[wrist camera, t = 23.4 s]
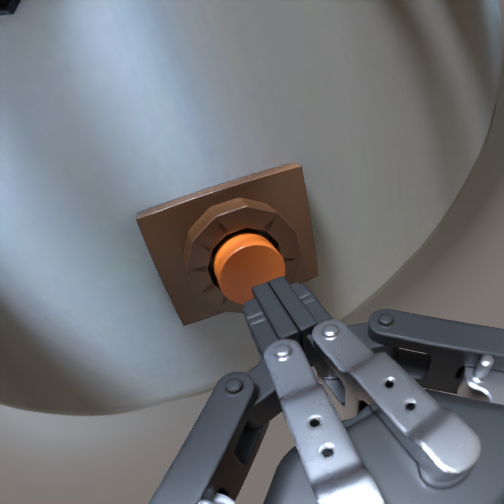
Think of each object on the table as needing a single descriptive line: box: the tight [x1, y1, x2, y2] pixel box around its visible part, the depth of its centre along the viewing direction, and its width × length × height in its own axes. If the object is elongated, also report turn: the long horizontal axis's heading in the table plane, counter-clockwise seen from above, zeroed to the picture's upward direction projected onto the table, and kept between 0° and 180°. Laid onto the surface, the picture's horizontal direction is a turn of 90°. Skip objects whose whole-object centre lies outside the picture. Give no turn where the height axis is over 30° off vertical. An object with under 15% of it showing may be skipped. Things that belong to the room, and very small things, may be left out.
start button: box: [213, 232, 285, 305], centre depth 16 cm, size 4×4×2 cm
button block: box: [136, 163, 319, 326], centre depth 18 cm, size 10×8×3 cm
